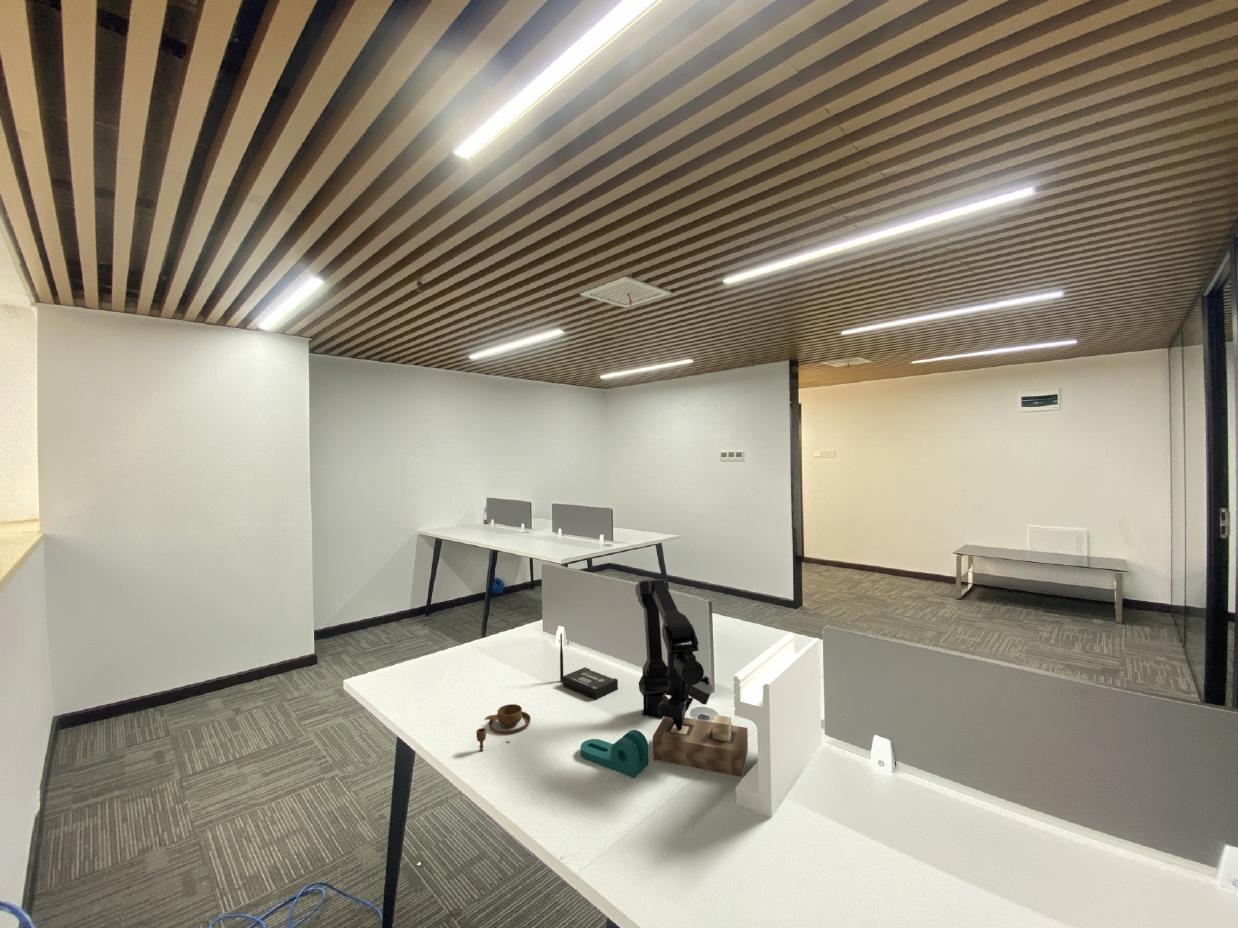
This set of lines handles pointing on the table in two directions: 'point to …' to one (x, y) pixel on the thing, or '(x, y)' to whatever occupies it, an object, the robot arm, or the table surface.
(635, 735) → the bracket
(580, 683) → the wireless controller
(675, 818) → the table surface
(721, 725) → the peg
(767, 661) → the block
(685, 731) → the peg
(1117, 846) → the table surface
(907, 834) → the table surface
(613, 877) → the table surface
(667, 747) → the band block
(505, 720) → the place setting
